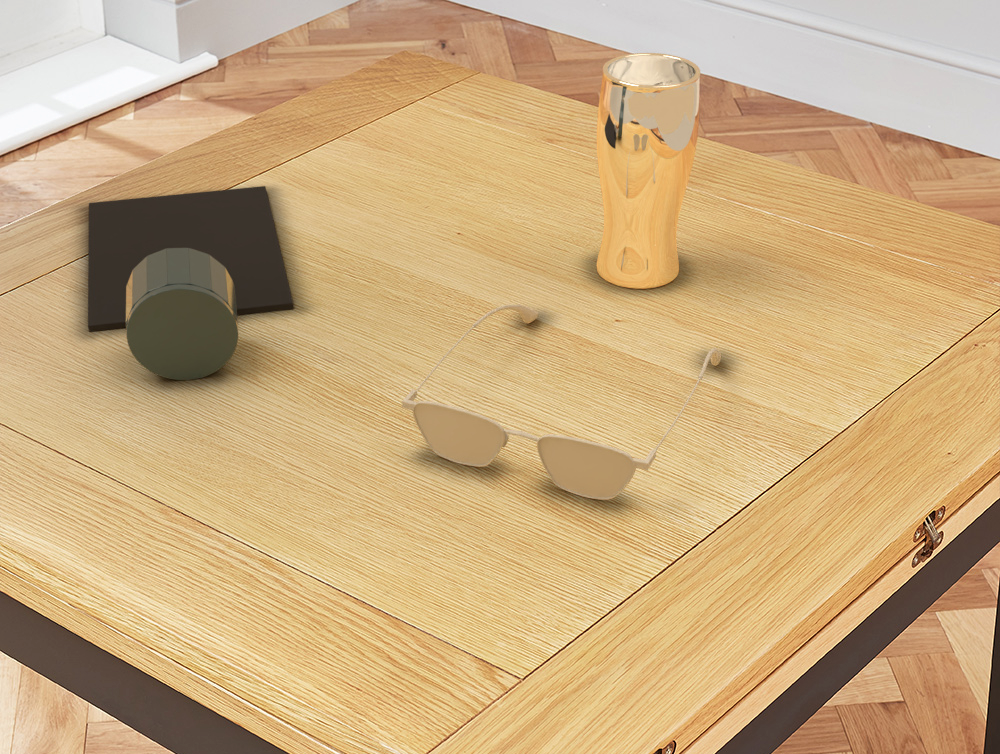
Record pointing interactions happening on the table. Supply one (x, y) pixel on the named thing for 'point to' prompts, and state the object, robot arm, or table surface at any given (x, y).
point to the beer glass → (645, 164)
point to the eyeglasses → (562, 456)
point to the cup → (181, 314)
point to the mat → (186, 224)
